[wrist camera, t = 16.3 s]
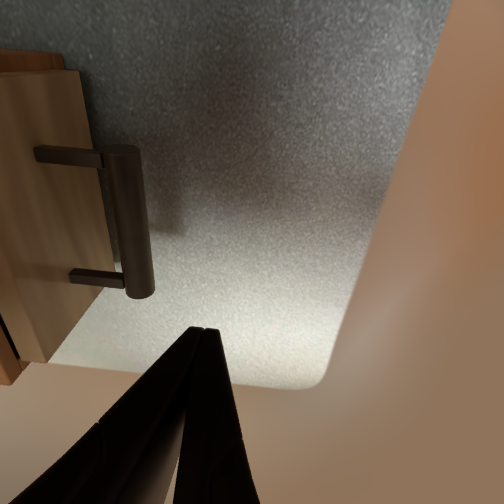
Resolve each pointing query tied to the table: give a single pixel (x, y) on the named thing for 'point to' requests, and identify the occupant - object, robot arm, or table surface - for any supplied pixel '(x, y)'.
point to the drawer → (62, 212)
